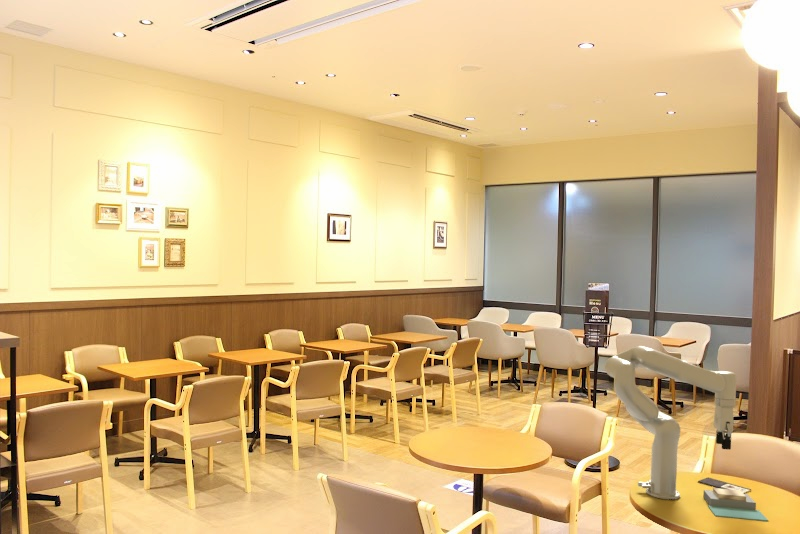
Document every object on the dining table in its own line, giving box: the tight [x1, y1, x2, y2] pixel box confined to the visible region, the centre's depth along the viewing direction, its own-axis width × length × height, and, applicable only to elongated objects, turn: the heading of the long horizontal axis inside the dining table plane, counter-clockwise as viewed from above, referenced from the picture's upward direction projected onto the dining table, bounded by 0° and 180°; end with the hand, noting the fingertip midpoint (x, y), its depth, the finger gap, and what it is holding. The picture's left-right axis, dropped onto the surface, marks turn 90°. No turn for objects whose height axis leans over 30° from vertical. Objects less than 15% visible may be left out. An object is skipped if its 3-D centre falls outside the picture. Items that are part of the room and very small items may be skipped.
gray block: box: [703, 489, 757, 510], centre depth 256 cm, size 16×10×3 cm, turn 80°
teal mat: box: [707, 504, 770, 522], centre depth 246 cm, size 18×10×1 cm, turn 80°
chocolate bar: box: [697, 477, 752, 494], centre depth 277 cm, size 9×1×18 cm
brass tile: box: [712, 487, 746, 501], centre depth 256 cm, size 10×7×2 cm
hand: (723, 446), depth 266 cm, fingers open, 7 cm apart
